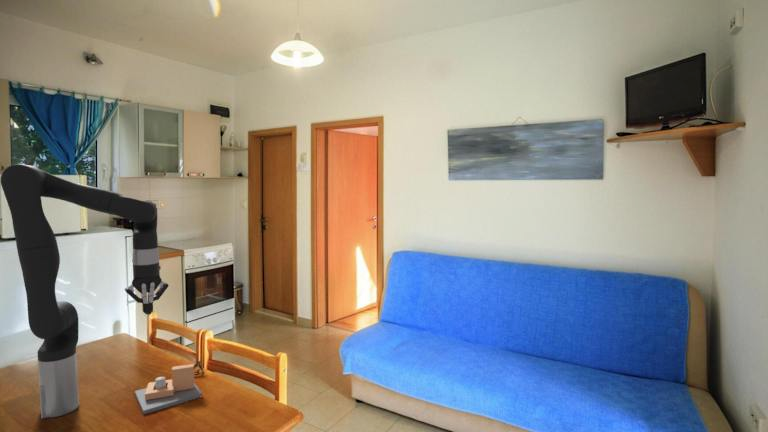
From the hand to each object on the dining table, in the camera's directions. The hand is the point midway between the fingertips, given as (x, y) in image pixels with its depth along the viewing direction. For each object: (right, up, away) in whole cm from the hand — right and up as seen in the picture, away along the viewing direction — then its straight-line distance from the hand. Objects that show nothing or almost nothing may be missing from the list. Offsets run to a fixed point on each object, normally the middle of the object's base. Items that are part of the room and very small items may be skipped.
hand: (148, 313), depth 139 cm
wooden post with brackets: (+8, -26, +15) cm, 31 cm away
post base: (+7, -27, 0) cm, 28 cm away
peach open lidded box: (+7, -26, +1) cm, 27 cm away
